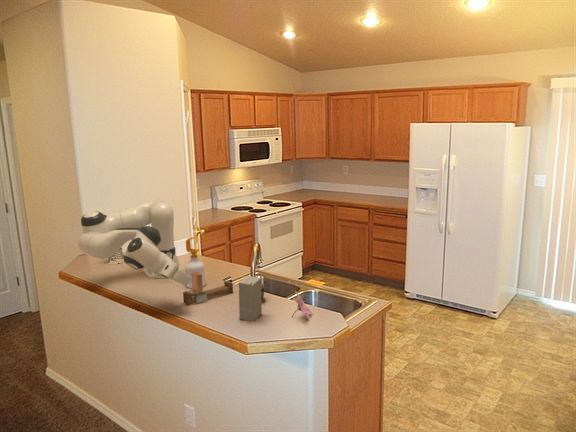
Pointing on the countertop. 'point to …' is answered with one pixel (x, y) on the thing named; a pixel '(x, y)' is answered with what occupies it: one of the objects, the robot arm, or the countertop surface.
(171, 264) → the robot arm
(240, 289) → the skincare box
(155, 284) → the countertop surface
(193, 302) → the rail
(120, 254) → the french press
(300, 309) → the lily
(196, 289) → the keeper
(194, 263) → the soap bottle
